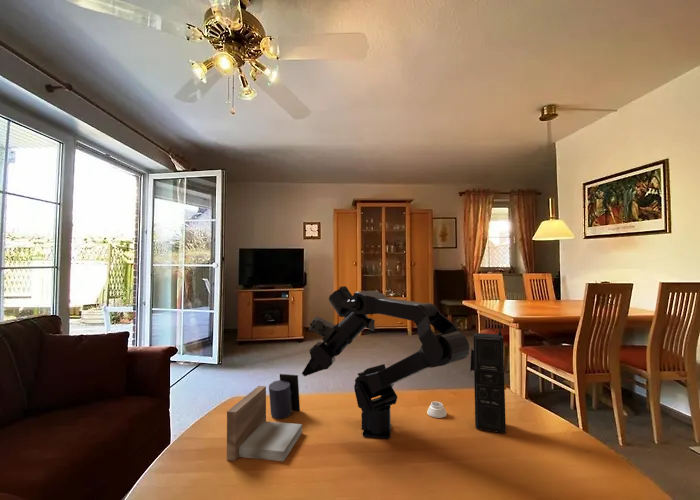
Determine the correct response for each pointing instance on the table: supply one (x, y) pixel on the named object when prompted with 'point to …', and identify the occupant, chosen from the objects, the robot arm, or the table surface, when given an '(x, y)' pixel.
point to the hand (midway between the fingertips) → (308, 369)
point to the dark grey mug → (284, 396)
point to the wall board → (258, 430)
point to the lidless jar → (437, 410)
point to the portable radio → (489, 381)
